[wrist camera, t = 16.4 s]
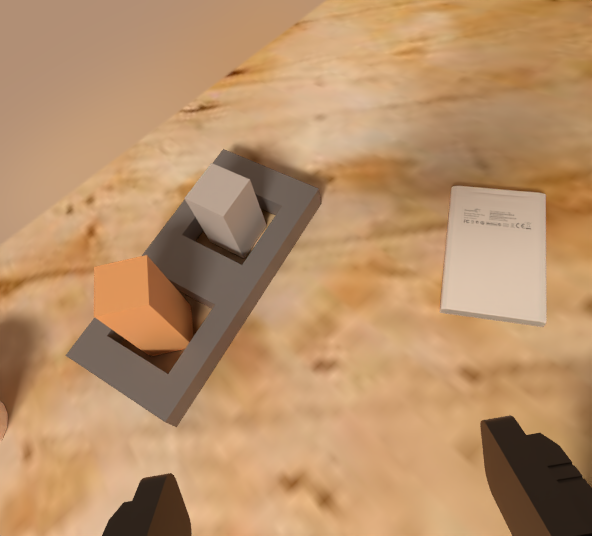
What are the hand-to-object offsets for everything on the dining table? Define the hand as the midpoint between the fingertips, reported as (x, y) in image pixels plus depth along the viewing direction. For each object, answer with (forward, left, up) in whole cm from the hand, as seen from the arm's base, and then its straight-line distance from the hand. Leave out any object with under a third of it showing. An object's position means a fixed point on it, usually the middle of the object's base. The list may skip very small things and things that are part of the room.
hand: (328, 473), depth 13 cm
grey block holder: (-9, -21, -27) cm, 35 cm away
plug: (-4, -21, -27) cm, 34 cm away
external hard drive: (-23, +1, -28) cm, 36 cm away
